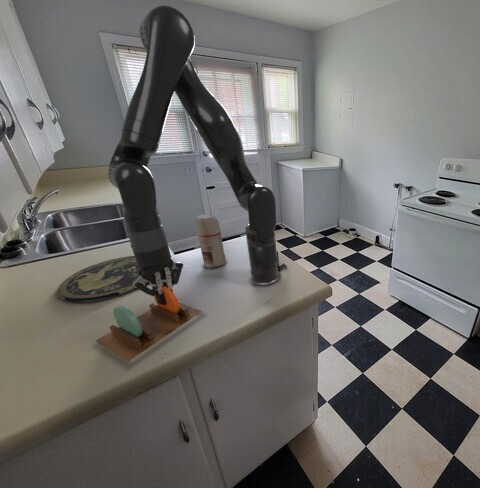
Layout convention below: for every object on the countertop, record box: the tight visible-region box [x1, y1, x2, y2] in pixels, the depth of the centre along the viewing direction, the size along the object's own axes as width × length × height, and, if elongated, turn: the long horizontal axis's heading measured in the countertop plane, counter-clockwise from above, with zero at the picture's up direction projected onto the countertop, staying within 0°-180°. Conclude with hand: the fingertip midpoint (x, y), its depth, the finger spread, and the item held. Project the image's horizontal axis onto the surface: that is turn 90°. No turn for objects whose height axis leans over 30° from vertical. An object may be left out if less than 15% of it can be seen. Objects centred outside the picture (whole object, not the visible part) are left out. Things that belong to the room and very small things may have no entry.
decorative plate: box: [57, 255, 150, 304], centre depth 96 cm, size 30×2×30 cm
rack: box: [95, 300, 203, 362], centre depth 71 cm, size 20×14×4 cm
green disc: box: [112, 304, 142, 338], centre depth 65 cm, size 1×9×9 cm, turn 63°
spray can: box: [193, 213, 227, 269], centre depth 102 cm, size 8×8×20 cm
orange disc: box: [153, 285, 180, 314], centre depth 73 cm, size 1×9×9 cm, turn 63°
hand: (166, 302), depth 74 cm, fingers closed on orange disc, 1 cm apart
